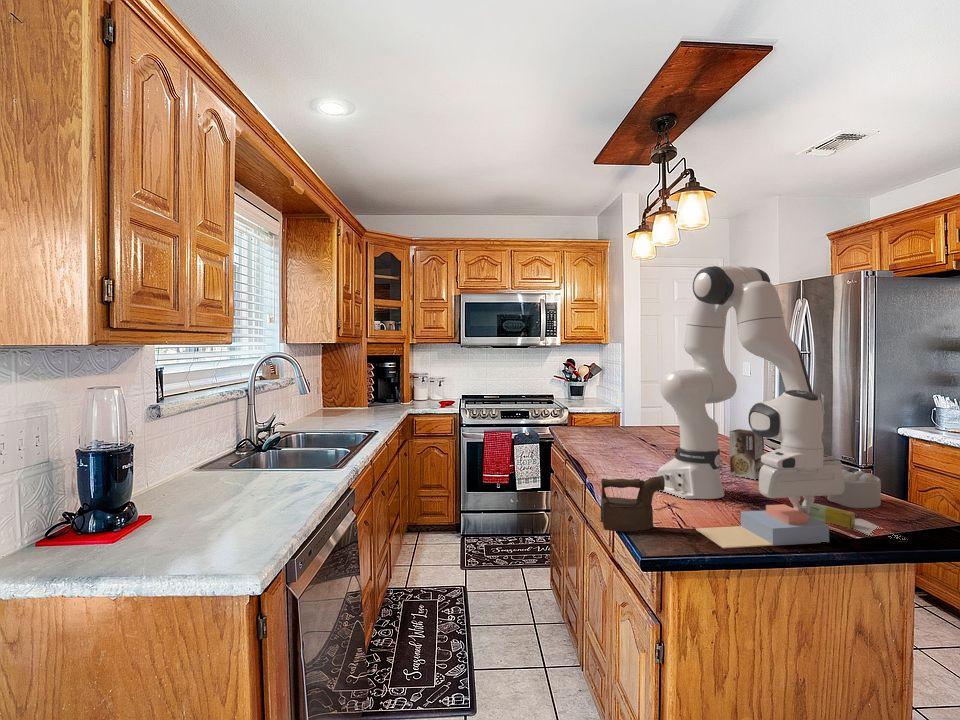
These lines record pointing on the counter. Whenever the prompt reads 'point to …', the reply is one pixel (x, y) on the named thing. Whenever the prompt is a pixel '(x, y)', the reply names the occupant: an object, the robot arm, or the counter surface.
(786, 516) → the salmon pink block
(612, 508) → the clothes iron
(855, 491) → the lumpy-topped squat cylinder
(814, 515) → the medication box
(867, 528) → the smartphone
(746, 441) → the coffee box
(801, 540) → the grey flat block
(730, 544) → the mat
